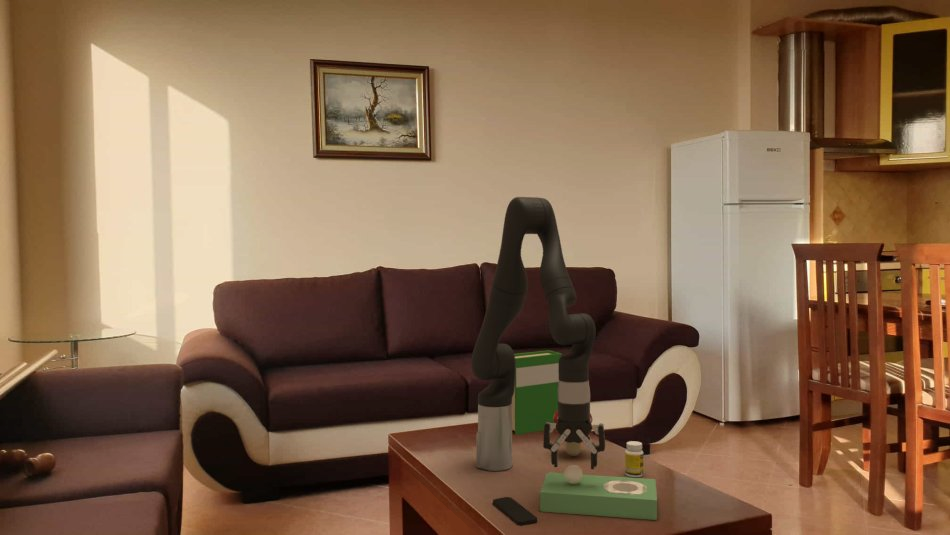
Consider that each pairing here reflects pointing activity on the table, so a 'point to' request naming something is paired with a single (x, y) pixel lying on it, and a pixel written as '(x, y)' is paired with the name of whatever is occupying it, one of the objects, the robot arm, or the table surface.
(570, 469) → the ball
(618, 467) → the table surface
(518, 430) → the hardback book
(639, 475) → the supplement bottle
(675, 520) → the table surface
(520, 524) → the remote control
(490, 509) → the table surface
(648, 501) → the green flat block
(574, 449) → the decorative mushroom
